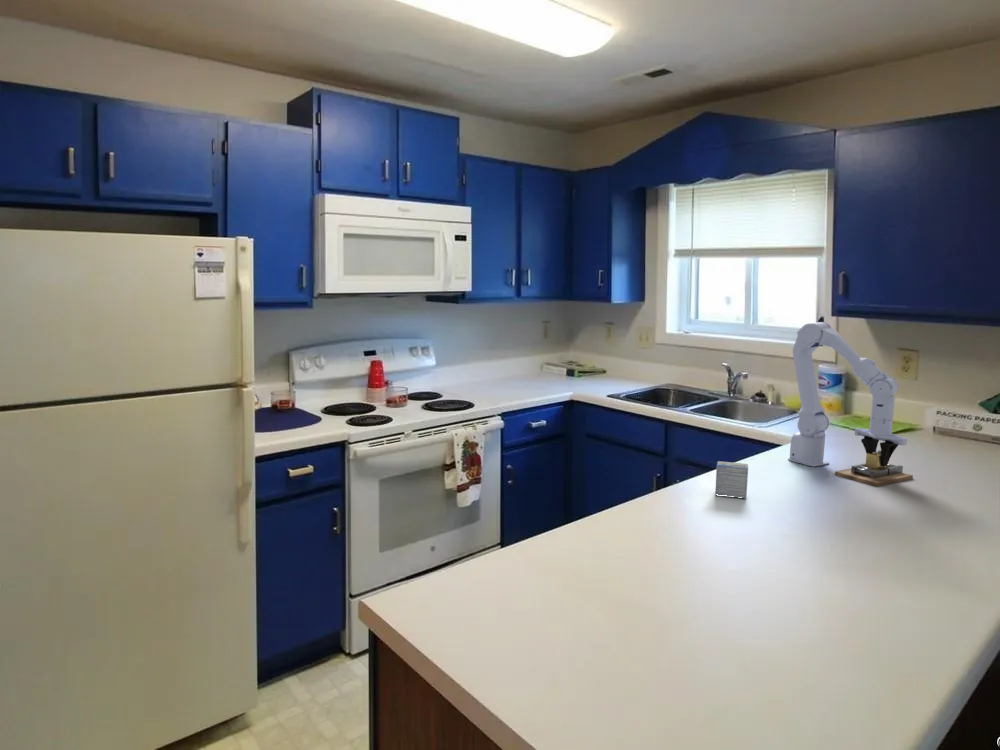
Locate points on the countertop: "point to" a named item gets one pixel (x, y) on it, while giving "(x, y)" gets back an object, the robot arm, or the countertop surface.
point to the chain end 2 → (894, 469)
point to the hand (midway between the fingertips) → (877, 464)
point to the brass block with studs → (874, 460)
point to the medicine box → (731, 479)
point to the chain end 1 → (869, 471)
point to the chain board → (876, 481)
